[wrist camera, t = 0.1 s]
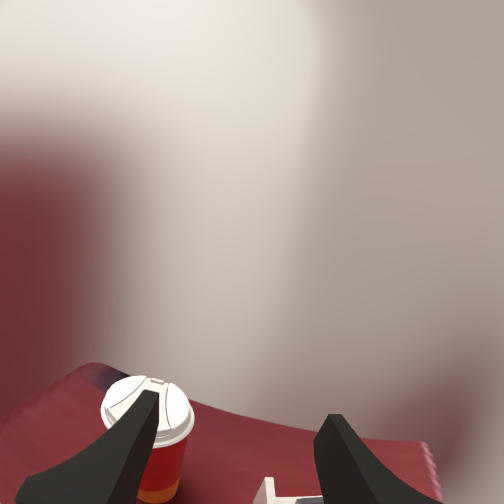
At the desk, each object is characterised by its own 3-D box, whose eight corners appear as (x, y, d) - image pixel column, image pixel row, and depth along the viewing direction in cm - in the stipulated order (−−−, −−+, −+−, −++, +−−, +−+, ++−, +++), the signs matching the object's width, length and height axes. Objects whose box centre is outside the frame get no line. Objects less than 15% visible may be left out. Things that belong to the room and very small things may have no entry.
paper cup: (129, 451, 27) (121, 363, 24) (192, 468, 27) (202, 384, 24) (108, 498, 19) (82, 416, 16) (180, 520, 19) (184, 450, 16)
